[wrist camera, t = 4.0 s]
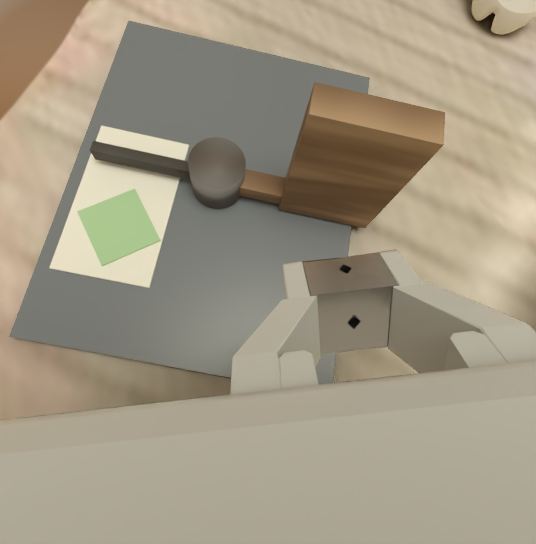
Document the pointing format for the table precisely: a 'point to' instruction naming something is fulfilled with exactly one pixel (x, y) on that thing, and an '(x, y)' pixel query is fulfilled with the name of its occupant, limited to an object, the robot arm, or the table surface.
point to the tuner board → (179, 210)
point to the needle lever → (314, 159)
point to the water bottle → (505, 13)
